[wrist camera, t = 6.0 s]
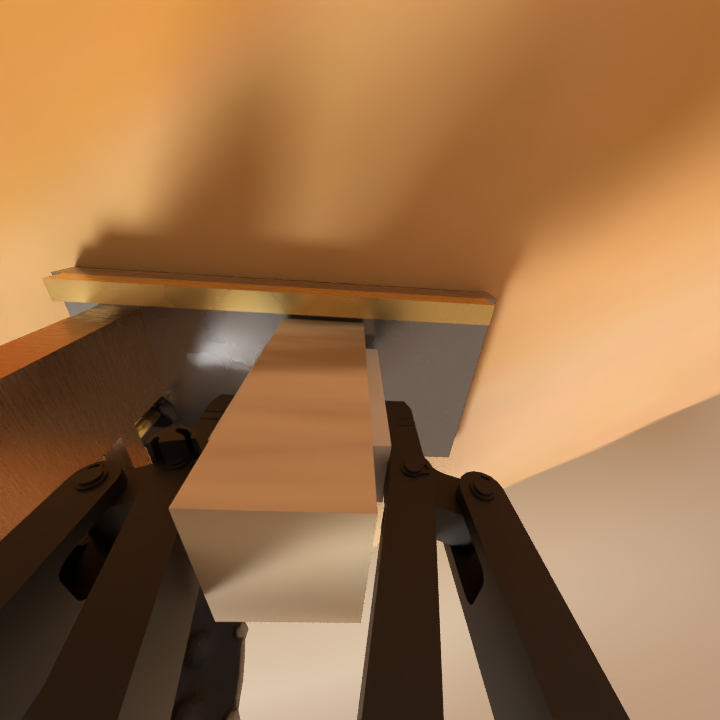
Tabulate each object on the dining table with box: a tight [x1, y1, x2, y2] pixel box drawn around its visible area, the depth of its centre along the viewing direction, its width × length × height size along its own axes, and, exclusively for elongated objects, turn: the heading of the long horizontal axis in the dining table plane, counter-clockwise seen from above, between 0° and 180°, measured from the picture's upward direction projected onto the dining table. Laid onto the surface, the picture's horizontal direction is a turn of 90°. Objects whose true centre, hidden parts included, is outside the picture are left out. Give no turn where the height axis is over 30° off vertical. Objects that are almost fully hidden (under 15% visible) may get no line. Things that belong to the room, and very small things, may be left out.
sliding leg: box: [168, 318, 378, 623], centre depth 12 cm, size 8×4×10 cm, turn 176°
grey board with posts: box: [0, 267, 497, 541], centre depth 13 cm, size 11×21×11 cm, turn 86°
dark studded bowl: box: [21, 534, 248, 720], centre depth 16 cm, size 11×20×20 cm, turn 34°
